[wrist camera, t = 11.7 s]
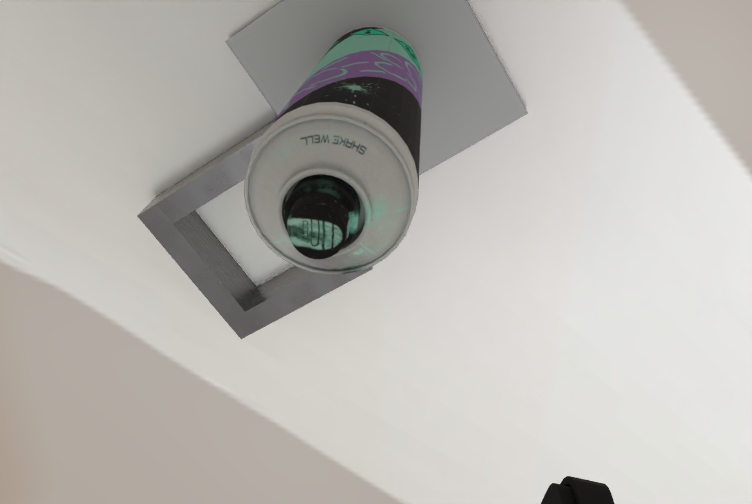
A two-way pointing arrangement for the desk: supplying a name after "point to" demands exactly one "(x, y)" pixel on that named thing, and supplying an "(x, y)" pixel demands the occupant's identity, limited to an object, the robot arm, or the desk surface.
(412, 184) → the spray can
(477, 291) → the desk surface
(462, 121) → the mat
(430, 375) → the desk surface
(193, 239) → the grey square frame
